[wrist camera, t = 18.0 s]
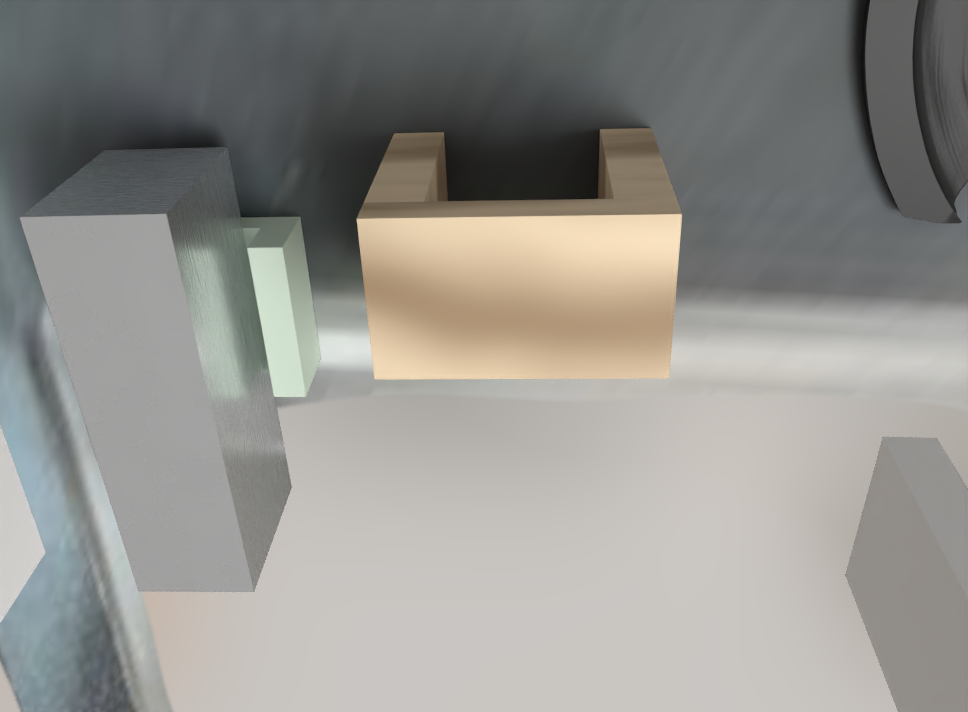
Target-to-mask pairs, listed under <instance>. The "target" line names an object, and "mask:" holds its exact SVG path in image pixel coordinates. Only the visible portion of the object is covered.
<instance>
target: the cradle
mask: <svg viewBox="0 0 968 712" xmlns="http://www.w3.org/2000/svg"><path fill="white" fill-rule="evenodd" d="M241 221H242V226H243V231H244V237H245V242H246V247H247V253H248V258H249V263H250V268H251V274H252V279H253V284H254V290H255V295H256V300H257V306H258V311H259V316H260V321H261V327H262V332H263V338H264V344H265V349H266V355H267V360H268V366H269V371H270V377H271V383H272V388H273V394H274V397H306V396H307V393H308V391H309V388H310V385H311V383H312V380H313V378H314V375H315V373H316V370H317V368H318V365H319V363H320V360H321V356H320V349H319V342H318V335H317V328H316V322H315V315H314V308H313V301H312V294H311V287H310V280H309V273H308V266H307V260H306V253H305V246H304V239H303V232H302V225H301V218H300V217H241Z"/></svg>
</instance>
